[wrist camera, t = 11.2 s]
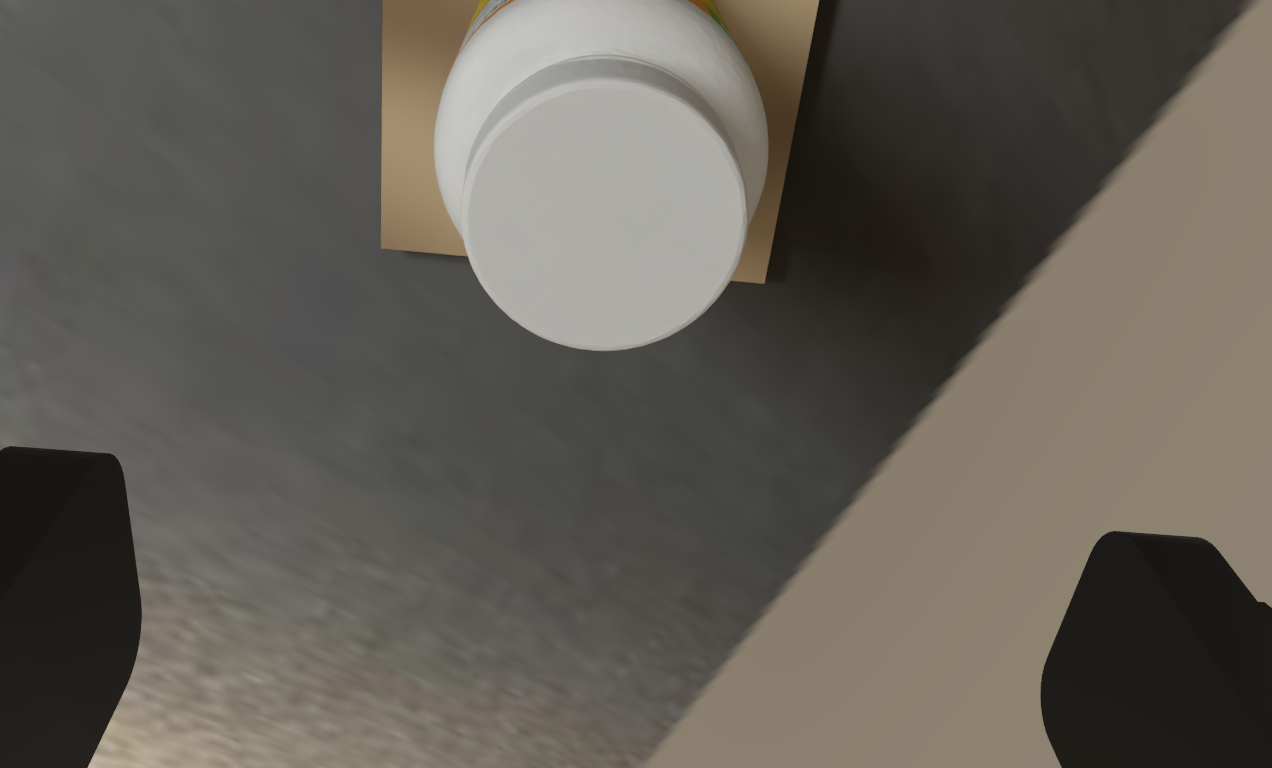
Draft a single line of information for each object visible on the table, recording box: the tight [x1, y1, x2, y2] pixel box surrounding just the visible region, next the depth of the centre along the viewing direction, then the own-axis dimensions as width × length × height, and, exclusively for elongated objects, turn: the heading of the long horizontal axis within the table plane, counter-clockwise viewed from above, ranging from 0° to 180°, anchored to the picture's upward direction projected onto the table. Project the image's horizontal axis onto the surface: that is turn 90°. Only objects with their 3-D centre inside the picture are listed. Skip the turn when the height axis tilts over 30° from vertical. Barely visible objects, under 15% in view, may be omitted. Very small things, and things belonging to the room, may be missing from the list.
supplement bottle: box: [434, 0, 768, 351], centre depth 19 cm, size 5×5×10 cm
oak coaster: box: [381, 0, 819, 284], centre depth 24 cm, size 9×9×1 cm
